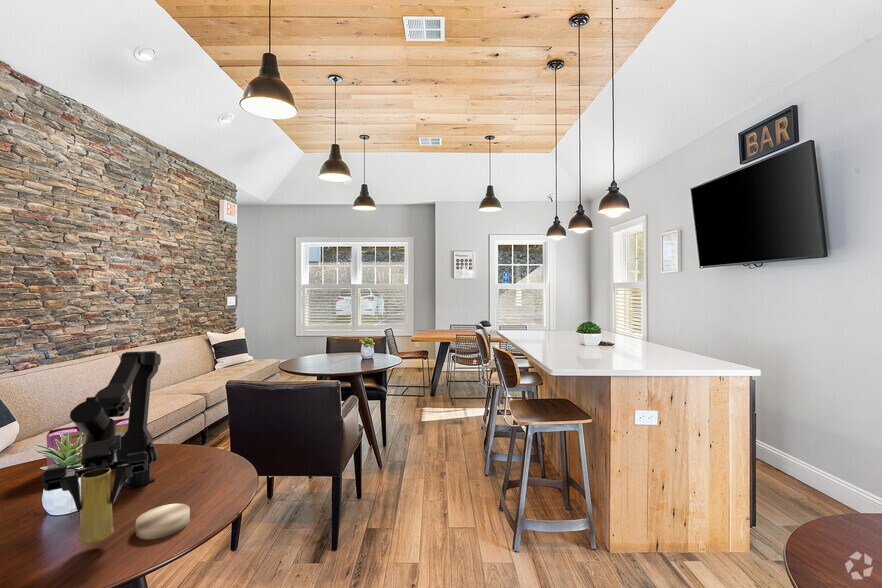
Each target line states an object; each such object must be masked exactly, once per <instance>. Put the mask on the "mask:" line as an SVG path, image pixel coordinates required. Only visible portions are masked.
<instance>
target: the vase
mask: <svg viewBox="0 0 882 588" xmlns="http://www.w3.org/2000/svg"><path fill="white" fill-rule="evenodd" d="M112 490H113V485H112V471H111V469H110V468H98V469H93V470H90V471H87V472H85V473H83V474H82V475H81V477H80V497H81V506H80V515H79V517H80V518H79V538H78V542H79V543H81V544H87V545H88V544H93V543H97V542H100V541H102V540H106V539H108V538H109V537H110V536H111V535H112V534H113V533H114V531H115V527H114V518H113V517H114V516H113V504H111V495H112Z"/></svg>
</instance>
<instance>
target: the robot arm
mask: <svg viewBox="0 0 882 588" xmlns="http://www.w3.org/2000/svg"><path fill="white" fill-rule="evenodd" d="M161 361H162V356H161V354H160V353H158V352H157V351H156V350H149V351H148V350H147V351H144V350H143V351H141V350H140V351H139V350H138V351H126V352H122V354H121V355H120V362H119V363H118V366H117V368H116V369H115V372H114V373H113V375H112V377H111V378H110V381H109V382H108V384H107V386H106V387H104V388H102V389H100V390H99V391H97V392H96V394H95V395H94V396H88V397H86V398H85V401H83V402H80V403H79V404H77V405H75V407H74V408H73V409H72V410H71V411H70V412H69V413H70V414H69V418H70V420H71V421H72V422H73V423H74V425H75V426H77V427H78V428H79V429H80V431H81V432H83V433H86V438H85V444H83V446H82V457H81V465H83V468H80V469H69V470H68V468H67V465H64V466H59V467H53V468H48V469H47V468H46V469H45V470H44V471H42V473H41V478H40V482H41V485H42V488H43V490H44V491H45V492H51V491H55V490H61V491H63V492H66V491H68V492H69V494H70V495H71V497H72V499H73V501H74V504H75V508H76V510H77V513H78V512H80V506H81V484H80V481H79V478H80V479H81V475H82V474H83V473H85V472H87V471H90V470H93V469H98V468H110V469H111V472H115V474H114V479H113V485H112V495H111V504H112V505H113V504H114V503H115V501H116V500H117V497H118V495H119V493H120V491H121V489H122V487H126V488H129V489H130V490H132V489H136V488H138V487H141V486H144V485H146V484H149V483H152V482H155V481H156V478H155V477H152V476H151V470H150V469H151V465H150V464H153V462H156V461H157V460H158V449H157V448H156V445H155V443H153V436H152V434H151V433H150V431H149V429H148V419H149V405H150V395H151V394H150V393H151V386H152V385H151V382H152V379H153V378H154V377H155V376H156V374H157V373H158V371H159V366H160V365H161ZM130 389H131V391H130ZM129 391H130V399H129V395H128V393H129ZM128 411H129V412H128ZM127 412H128V418H129V422H128V430H127V432H126V433H125V434H124V435H123V436H121V435H116V422H115V421H114V420H115V419H113V418H119V417H120V418H121V417H124V416H125V415H126V413H127ZM115 435H116V436H115ZM115 450H117V451H116V457H117V462H114V457H115Z"/></svg>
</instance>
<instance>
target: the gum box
mask: <svg viewBox="0 0 882 588" xmlns="http://www.w3.org/2000/svg"><path fill="white" fill-rule="evenodd" d="M113 420H114V421H115V422H116V435H121V436H123V435H124V434H125V433H126V432H127V430H128V422H129V417H127V418H125V417H124V418H119V419H113ZM60 433H61V434H63V435H64V436H67V435H68V433H70V442H71V444H74V443H75V442H76V440H77V438H78V437H79V436H80V435H81V433H82V432H81V431H80V429H79V428H78V427H77V426H76V425H75V426H67V427H61V428H54V429H49V431H48V432H47V433H46V436H45V437H46V449H47V448H49V447H50V448H53V449H55V450H56V451H57V450H58V446H57V444H56V441H55V439H57V440H58V441H59V442H61V437H60V435H59V434H60ZM116 435H115V436H116ZM85 438H86V433H83V435H82V444H85ZM81 451H82V450H81ZM116 451H117V450H115V457H114V462H117V457H116ZM53 463H54V462H53V461H52V460H51V459H50V458H48V457H47V456H46V467H47V466H49V465H51V464H53Z"/></svg>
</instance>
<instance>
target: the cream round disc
mask: <svg viewBox="0 0 882 588" xmlns="http://www.w3.org/2000/svg"><path fill="white" fill-rule="evenodd" d="M190 510H191V508H190V506H189V505H187V504H186V503H170V504H169V503H168V504H165V505H164V504H163V505H160V506H157V507H154V508H152V509H149V510H146V512H144V513H141V514H140V515H139V516H138V517H137V518H136V520H135V536H136V537H137V538H138V539H141V540H156V539H162V538H166V537H168V536H171V535H173V534H176V533H177V532H179V531H181V530H184V528H186V527H187V526H188V525H189V523H190V521H191V520H190V519H191V518H190V517H191V515H190V514H191V513H190V512H191V511H190Z"/></svg>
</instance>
